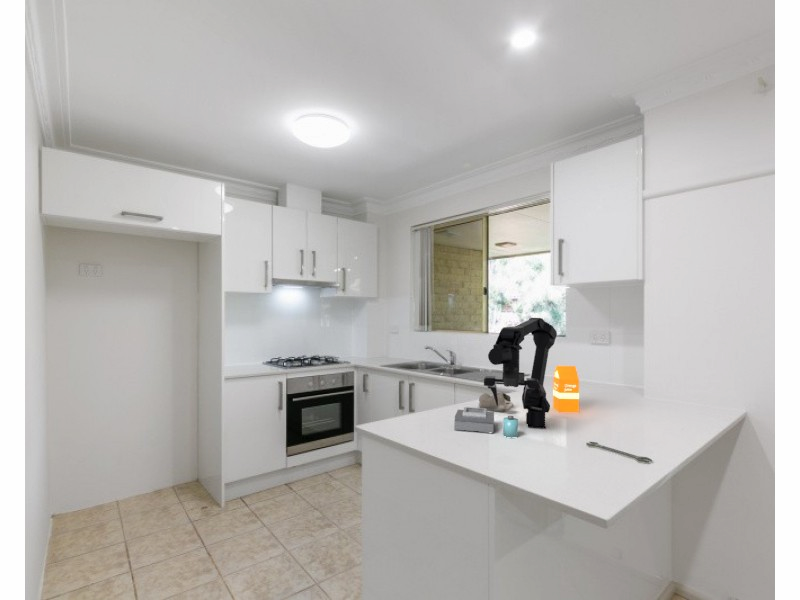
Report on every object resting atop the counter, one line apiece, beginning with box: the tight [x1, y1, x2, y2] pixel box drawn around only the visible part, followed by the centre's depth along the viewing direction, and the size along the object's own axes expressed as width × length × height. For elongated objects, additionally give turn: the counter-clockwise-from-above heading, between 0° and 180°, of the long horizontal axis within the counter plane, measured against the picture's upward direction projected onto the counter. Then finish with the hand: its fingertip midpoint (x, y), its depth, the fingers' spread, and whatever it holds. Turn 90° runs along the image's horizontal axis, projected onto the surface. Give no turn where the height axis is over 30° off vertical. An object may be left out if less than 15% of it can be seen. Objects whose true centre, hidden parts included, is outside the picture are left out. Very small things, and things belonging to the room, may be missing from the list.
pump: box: [502, 415, 519, 438], centre depth 147 cm, size 5×5×7 cm
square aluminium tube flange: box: [453, 406, 495, 434], centre depth 157 cm, size 14×13×6 cm
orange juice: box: [552, 365, 580, 414], centre depth 186 cm, size 8×9×20 cm
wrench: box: [586, 441, 653, 465], centre depth 130 cm, size 5×2×20 cm
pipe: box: [478, 391, 514, 413], centre depth 184 cm, size 16×9×15 cm
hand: (510, 406), depth 147 cm, fingers open, 9 cm apart
